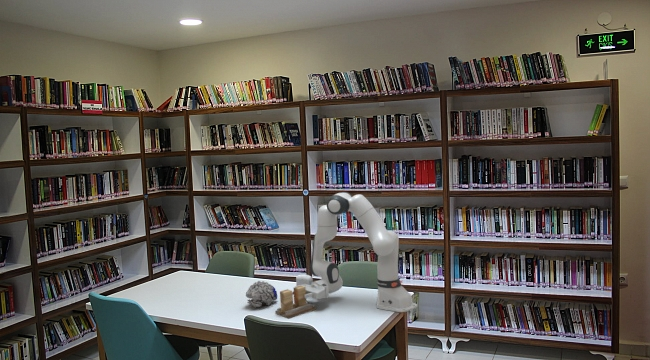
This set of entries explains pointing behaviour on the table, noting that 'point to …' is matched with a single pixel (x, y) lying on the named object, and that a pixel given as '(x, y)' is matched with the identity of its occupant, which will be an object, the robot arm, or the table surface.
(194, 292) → the table surface
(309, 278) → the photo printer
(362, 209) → the robot arm
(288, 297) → the wooden block stand
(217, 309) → the table surface
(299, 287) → the wooden block
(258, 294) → the educational model
